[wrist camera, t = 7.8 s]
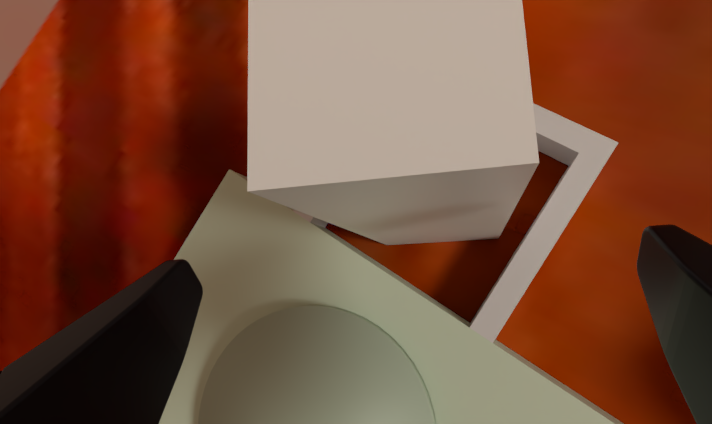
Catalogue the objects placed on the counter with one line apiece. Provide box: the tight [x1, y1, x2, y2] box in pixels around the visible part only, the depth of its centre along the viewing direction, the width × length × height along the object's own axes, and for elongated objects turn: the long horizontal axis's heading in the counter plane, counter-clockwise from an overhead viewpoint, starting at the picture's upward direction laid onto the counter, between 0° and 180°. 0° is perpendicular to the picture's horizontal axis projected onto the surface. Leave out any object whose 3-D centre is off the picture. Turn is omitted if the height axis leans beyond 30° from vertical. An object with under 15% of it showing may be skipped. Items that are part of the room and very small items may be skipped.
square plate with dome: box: [159, 103, 624, 424], centre depth 18 cm, size 23×20×3 cm
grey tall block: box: [247, 0, 539, 245], centre depth 14 cm, size 4×5×13 cm
